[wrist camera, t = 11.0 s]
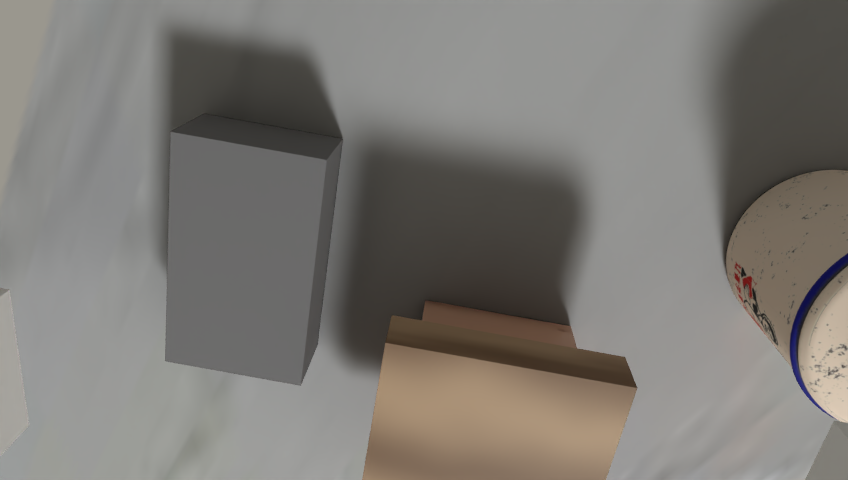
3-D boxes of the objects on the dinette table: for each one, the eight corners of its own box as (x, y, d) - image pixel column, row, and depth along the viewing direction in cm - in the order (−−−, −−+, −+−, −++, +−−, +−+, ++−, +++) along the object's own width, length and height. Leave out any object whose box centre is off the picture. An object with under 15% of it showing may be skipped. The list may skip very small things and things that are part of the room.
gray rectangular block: (204, 113, 33) (170, 131, 30) (342, 138, 33) (326, 159, 30) (195, 322, 38) (165, 361, 34) (317, 345, 38) (300, 385, 34)
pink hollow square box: (425, 300, 36) (418, 348, 32) (570, 326, 36) (585, 378, 32) (402, 419, 39) (393, 479, 35) (537, 443, 39) (545, 507, 35)
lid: (391, 315, 31) (385, 342, 29) (624, 357, 31) (637, 388, 29) (361, 496, 35) (353, 533, 33) (566, 533, 35) (573, 573, 33)
